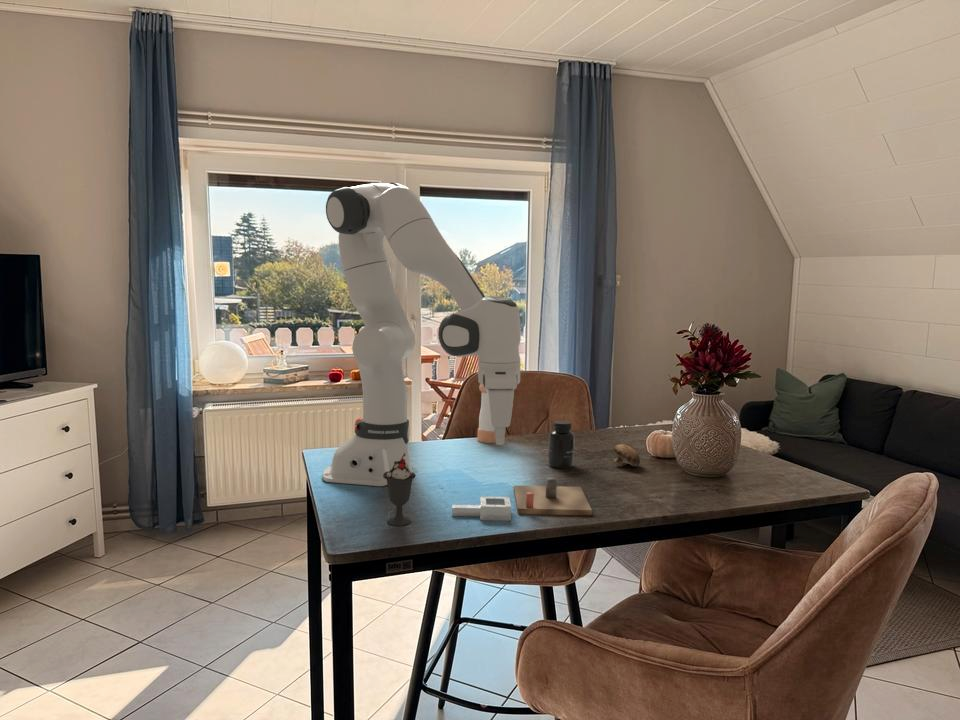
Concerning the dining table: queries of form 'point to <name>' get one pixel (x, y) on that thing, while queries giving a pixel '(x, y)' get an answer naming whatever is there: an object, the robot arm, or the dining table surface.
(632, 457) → the mushroom
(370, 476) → the robot arm
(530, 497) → the dowel pin
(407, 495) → the sundae
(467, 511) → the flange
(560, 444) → the supplement bottle
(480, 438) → the pepper shaker
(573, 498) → the post base
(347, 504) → the dining table surface
